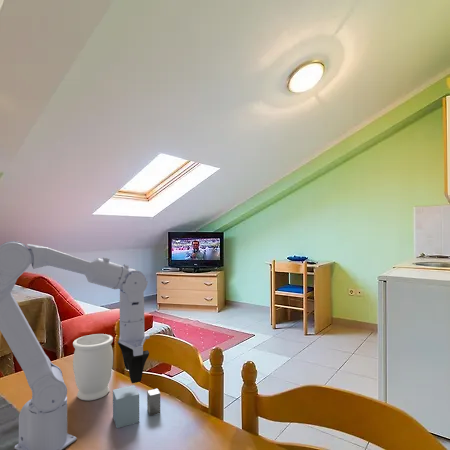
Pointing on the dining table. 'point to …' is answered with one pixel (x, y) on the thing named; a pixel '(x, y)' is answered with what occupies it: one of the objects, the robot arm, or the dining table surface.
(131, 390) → the tall grey box
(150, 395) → the post
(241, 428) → the dining table surface
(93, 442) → the dining table surface
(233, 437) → the dining table surface
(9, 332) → the robot arm
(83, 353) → the jar
